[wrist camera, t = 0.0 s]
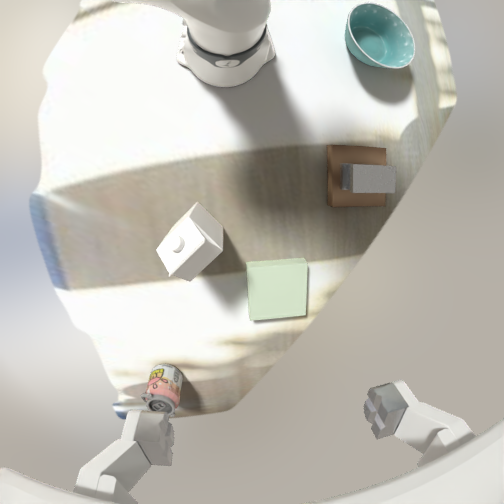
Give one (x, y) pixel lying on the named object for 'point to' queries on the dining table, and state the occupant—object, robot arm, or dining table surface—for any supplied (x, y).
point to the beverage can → (163, 389)
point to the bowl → (379, 37)
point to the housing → (367, 178)
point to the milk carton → (191, 243)
